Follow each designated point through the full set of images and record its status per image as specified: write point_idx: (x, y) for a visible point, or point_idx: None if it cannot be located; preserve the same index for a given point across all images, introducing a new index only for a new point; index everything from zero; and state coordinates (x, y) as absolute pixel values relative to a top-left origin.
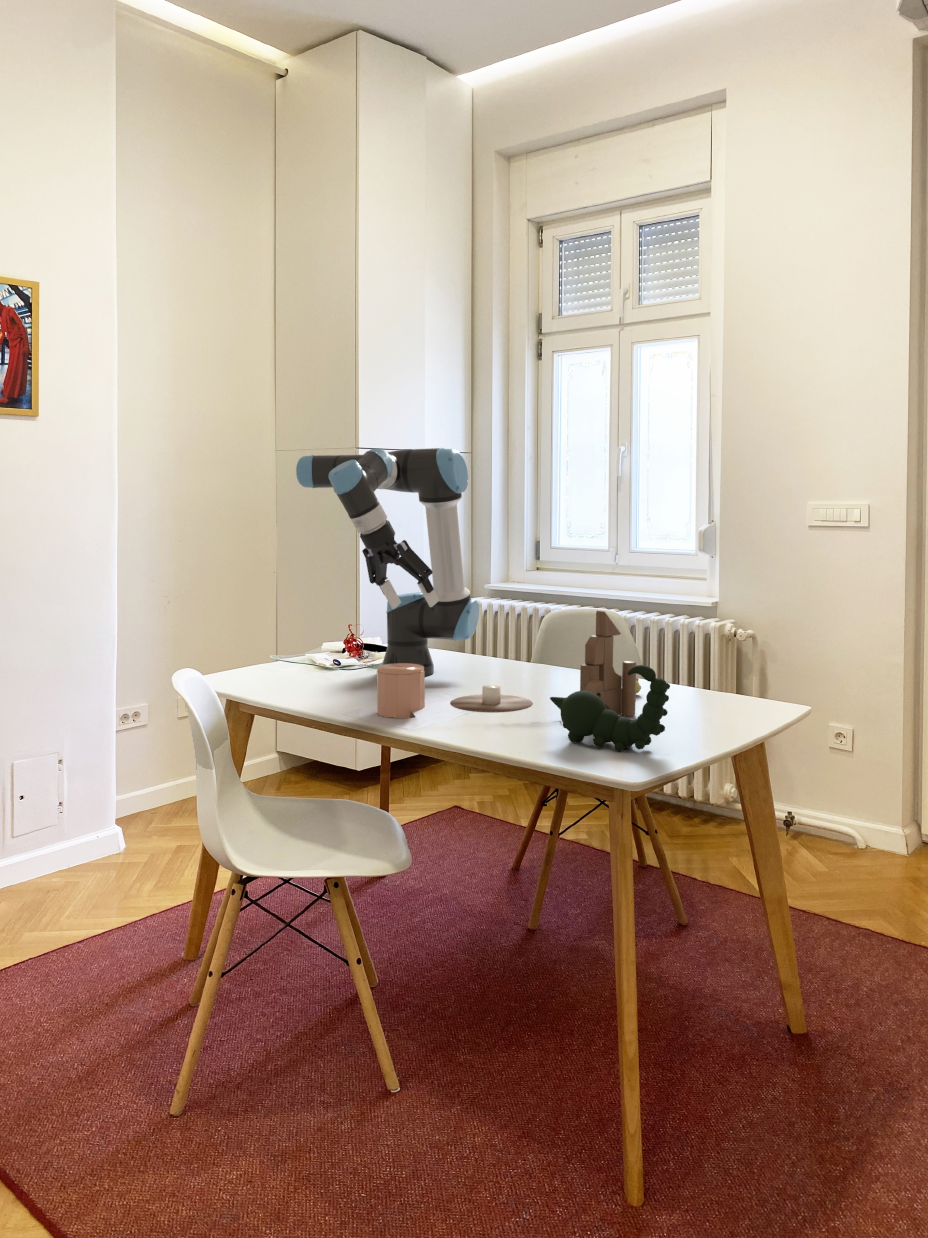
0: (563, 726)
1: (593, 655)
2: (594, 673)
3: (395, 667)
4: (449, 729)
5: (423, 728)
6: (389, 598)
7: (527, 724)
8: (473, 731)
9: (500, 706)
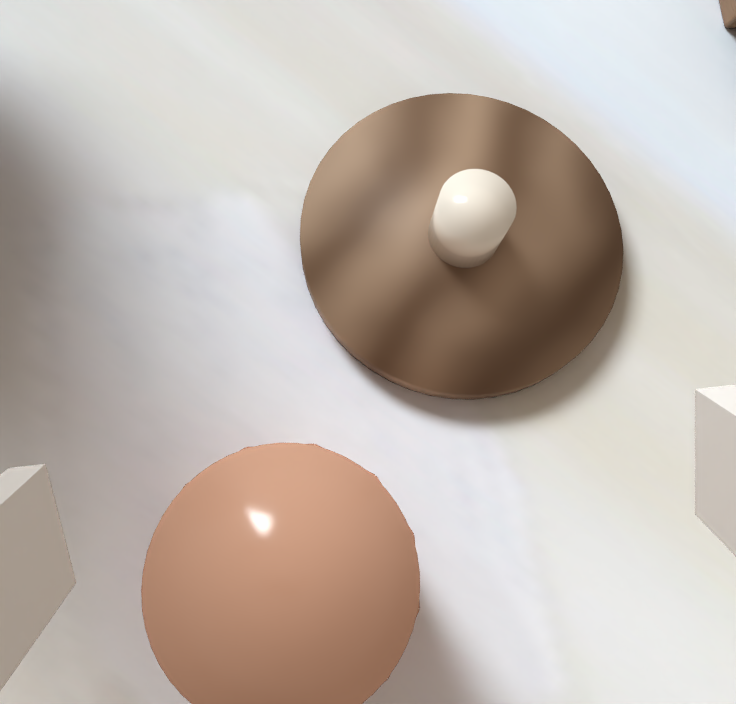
0: None
1: None
2: None
3: (268, 610)
4: (643, 573)
5: (576, 651)
6: (4, 667)
7: (722, 298)
8: None
9: (534, 247)
